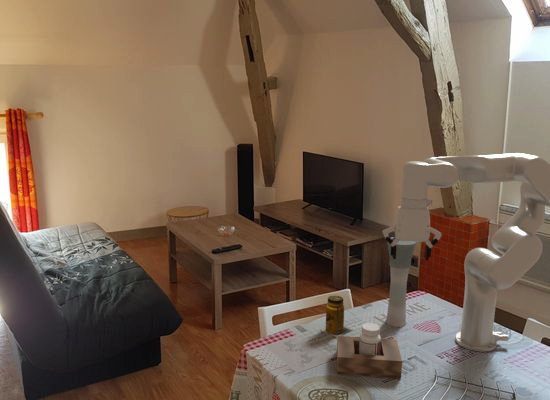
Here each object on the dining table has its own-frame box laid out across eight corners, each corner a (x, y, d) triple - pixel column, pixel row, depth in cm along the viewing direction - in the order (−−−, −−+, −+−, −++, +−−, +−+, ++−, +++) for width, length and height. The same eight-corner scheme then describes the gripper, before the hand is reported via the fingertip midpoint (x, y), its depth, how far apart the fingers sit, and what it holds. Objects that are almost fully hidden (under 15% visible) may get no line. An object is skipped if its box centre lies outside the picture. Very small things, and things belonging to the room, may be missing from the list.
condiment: (320, 330, 176) (321, 297, 173) (336, 323, 181) (337, 291, 179) (336, 338, 170) (337, 304, 168) (352, 330, 176) (354, 297, 173)
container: (378, 323, 181) (382, 241, 175) (388, 314, 189) (393, 235, 182) (404, 331, 176) (409, 246, 170) (413, 321, 183) (419, 239, 177)
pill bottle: (371, 354, 158) (373, 320, 155) (383, 364, 152) (385, 329, 150) (354, 359, 155) (356, 324, 153) (366, 369, 150) (368, 333, 147)
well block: (395, 355, 159) (396, 339, 158) (400, 378, 147) (402, 361, 145) (336, 352, 161) (337, 335, 160) (337, 374, 149) (337, 356, 147)
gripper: (441, 201, 156) (436, 256, 159) (383, 199, 157) (380, 253, 161) (446, 207, 148) (441, 264, 152) (385, 205, 150) (382, 261, 154)
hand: (410, 258), depth 156 cm, fingers open, 9 cm apart
